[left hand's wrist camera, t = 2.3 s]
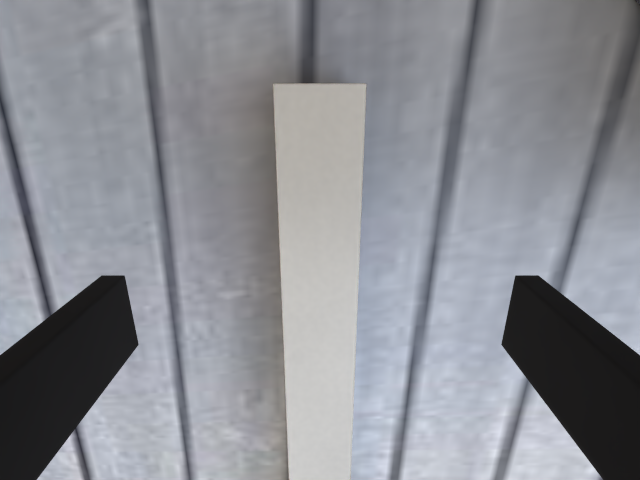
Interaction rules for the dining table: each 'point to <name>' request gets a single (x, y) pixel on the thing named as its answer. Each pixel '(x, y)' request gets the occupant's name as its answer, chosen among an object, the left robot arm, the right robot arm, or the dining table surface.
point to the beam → (319, 267)
